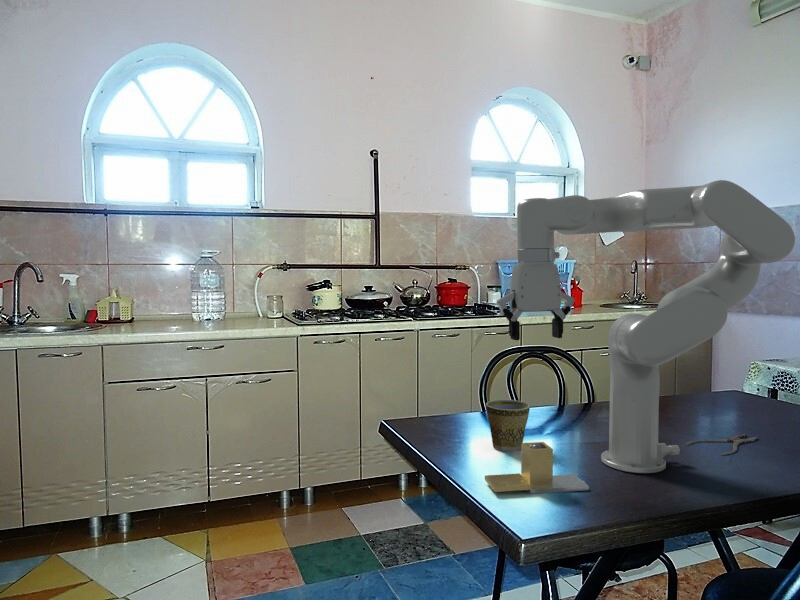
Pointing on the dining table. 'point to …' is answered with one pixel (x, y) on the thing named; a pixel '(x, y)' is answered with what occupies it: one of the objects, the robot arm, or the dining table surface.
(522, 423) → the ceramic cup
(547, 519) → the dining table surface
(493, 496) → the dining table surface
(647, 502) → the dining table surface
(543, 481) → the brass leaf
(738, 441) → the pliers
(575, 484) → the steel leaf with pin
